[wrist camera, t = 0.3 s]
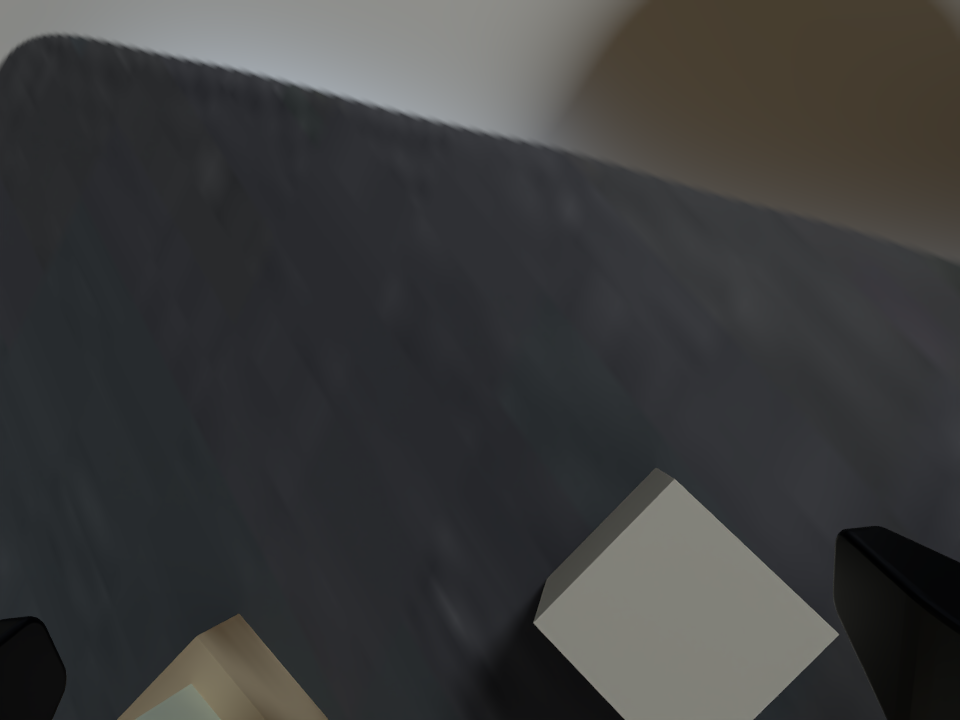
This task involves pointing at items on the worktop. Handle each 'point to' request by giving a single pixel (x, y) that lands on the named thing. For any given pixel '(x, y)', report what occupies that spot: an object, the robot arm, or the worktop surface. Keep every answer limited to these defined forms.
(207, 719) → the sage block
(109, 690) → the worktop surface
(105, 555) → the worktop surface
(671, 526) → the cream block
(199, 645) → the oak slab
